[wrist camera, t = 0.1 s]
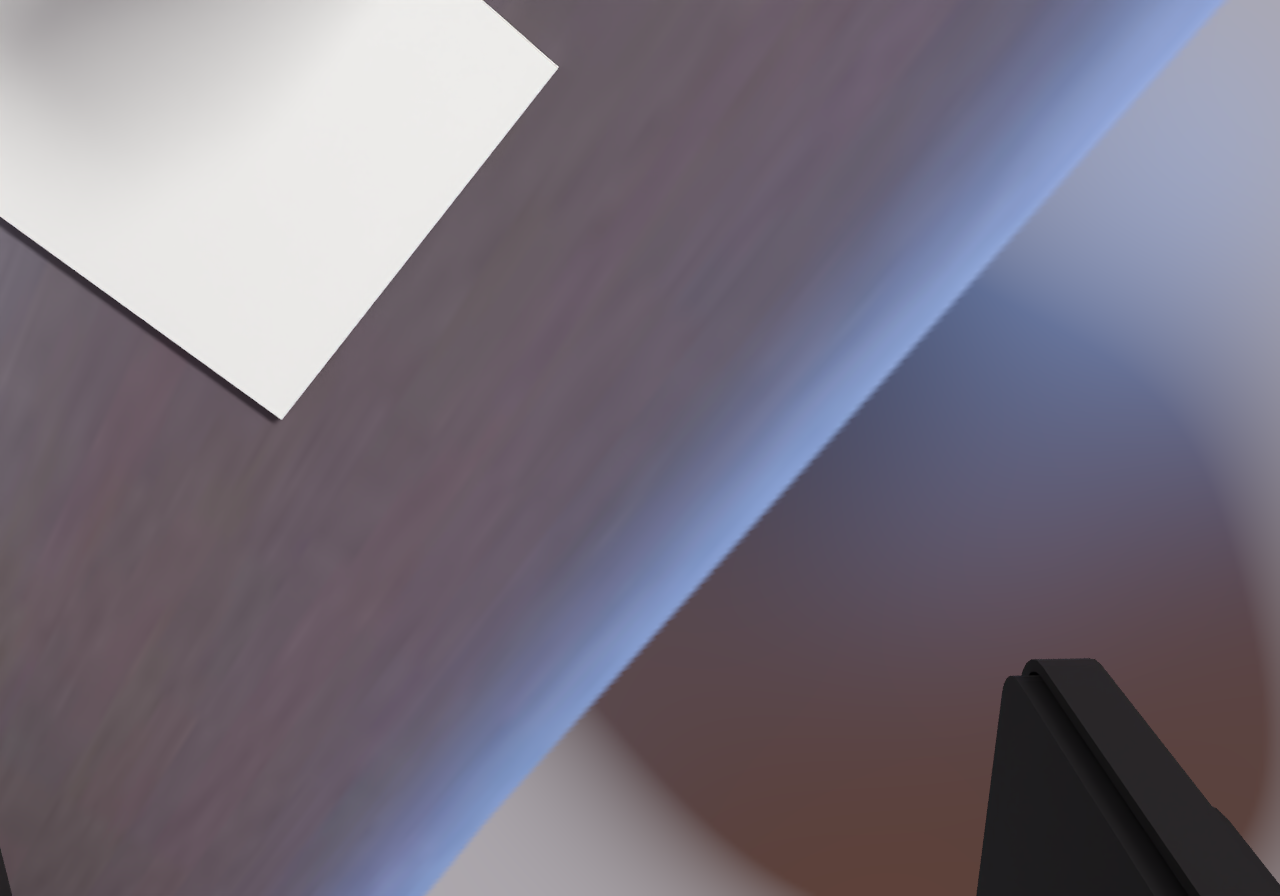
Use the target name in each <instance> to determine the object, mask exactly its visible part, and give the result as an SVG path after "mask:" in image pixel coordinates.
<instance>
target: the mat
mask: <svg viewBox="0 0 1280 896" xmlns="http://www.w3.org/2000/svg"><path fill="white" fill-rule="evenodd" d="M558 68H559V67H558V66H557V65H556V64H555V63H554V62H552V61H551V60H550V59H549V58H548V57H547V56H546V55H544V54H543V53H542V52H541V51H540V50H539V49H538V48H536V47H535V46H534V45H533V44H532V43H531V42H530V41H529V40H527V39H526V38H525V37H524V36H523V35H522V34H521V33H519V32H518V31H517V30H516V29H515V28H514V27H513V26H511V25H510V24H509V23H508V22H507V21H506V20H505V19H504V18H502V17H501V16H500V15H499V14H498V13H497V12H496V11H494V10H493V9H492V8H491V7H490V6H489V5H488V4H487V3H485V2H484V1H483V0H0V217H2V218H3V219H4V220H6V221H7V222H9V223H10V224H11V225H13V226H14V227H15V228H17V229H18V230H20V231H21V232H22V233H24V234H25V235H27V236H28V237H29V238H31V239H32V240H33V241H35V242H36V243H38V244H39V245H40V246H42V247H43V248H45V249H46V250H47V251H49V252H50V253H51V254H53V255H54V256H56V257H57V258H58V259H60V260H61V261H63V262H64V263H65V264H67V265H68V266H69V267H71V268H72V269H74V270H75V271H76V272H78V273H79V274H81V275H82V276H83V277H85V278H86V279H87V280H89V281H90V282H92V283H93V284H94V285H96V286H97V287H98V288H100V289H101V290H103V291H104V292H105V293H107V294H108V295H110V296H111V297H112V298H114V299H115V300H116V301H118V302H119V303H121V304H122V305H123V306H125V307H126V308H128V309H129V310H130V311H132V312H133V313H134V314H136V315H137V316H139V317H140V318H141V319H143V320H144V321H146V322H147V323H148V324H150V325H151V326H152V327H154V328H155V329H157V330H158V331H159V332H161V333H162V334H164V335H165V336H166V337H168V338H169V339H170V340H172V341H173V342H175V343H176V344H177V345H179V346H180V347H182V348H183V349H184V350H186V351H187V352H188V353H190V354H191V355H193V356H194V357H195V358H197V359H198V360H199V361H201V362H202V363H204V364H205V365H206V366H208V367H209V368H211V369H212V370H213V371H215V372H216V373H217V374H219V375H220V376H222V377H223V378H224V379H226V380H227V381H229V382H230V383H231V384H233V385H234V386H235V387H237V388H238V389H240V390H241V391H242V392H244V393H245V394H247V395H248V396H249V397H251V398H252V399H253V400H255V401H256V402H258V403H259V404H260V405H262V406H263V407H265V408H266V409H267V410H269V411H270V412H271V413H273V414H274V415H276V416H277V417H278V418H280V419H281V420H282V419H283V418H284V416H285V415H286V414H287V413H288V411H289V410H290V409H291V408H292V406H293V405H294V404H295V402H296V401H297V400H298V399H299V397H300V396H301V395H302V394H303V392H304V391H305V390H306V388H307V387H308V386H309V385H310V383H311V382H312V381H313V380H314V378H315V377H316V376H317V374H318V373H319V372H320V371H321V369H322V368H323V367H324V366H325V364H326V363H327V362H328V360H329V359H330V358H331V357H332V355H333V354H334V353H335V352H336V350H337V349H338V348H339V346H340V345H341V344H342V343H343V341H344V340H345V339H346V338H347V336H348V335H349V334H350V332H351V331H352V330H353V329H354V327H355V326H356V325H357V324H358V322H359V321H360V320H361V318H362V317H363V316H364V315H365V313H366V312H367V311H368V310H369V308H370V307H371V306H372V304H373V303H374V302H375V301H376V299H377V298H378V297H379V296H380V294H381V293H382V292H383V290H384V289H385V288H386V287H387V285H388V284H389V283H390V282H391V280H392V279H393V278H394V276H395V275H396V274H397V273H398V271H399V270H400V269H401V268H402V266H403V265H404V264H405V262H406V261H407V260H408V259H409V257H410V256H411V255H412V254H413V252H414V251H415V250H416V248H417V247H418V246H419V245H420V243H421V242H422V241H423V240H424V238H425V237H426V236H427V234H428V233H429V232H430V231H431V229H432V228H433V227H434V226H435V224H436V223H437V222H438V220H439V219H440V218H441V217H442V215H443V214H444V213H445V212H446V210H447V209H448V208H449V206H450V205H451V204H452V203H453V201H454V200H455V199H456V198H457V196H458V195H459V194H460V192H461V191H462V190H463V189H464V187H465V186H466V185H467V184H468V182H469V181H470V180H471V178H472V177H473V176H474V175H475V173H476V172H477V171H478V170H479V168H480V167H481V166H482V164H483V163H484V162H485V161H486V159H487V158H488V157H489V156H490V154H491V153H492V152H493V150H494V149H495V148H496V147H497V145H498V144H499V143H500V142H501V140H502V139H503V138H504V136H505V135H506V134H507V133H508V131H509V130H510V129H511V128H512V126H513V125H514V124H515V122H516V121H517V120H518V119H519V117H520V116H521V115H522V114H523V112H524V111H525V110H526V108H527V107H528V106H529V105H530V103H531V102H532V101H533V100H534V98H535V97H536V96H537V94H538V93H539V92H540V91H541V89H542V88H543V87H544V86H545V84H546V83H547V82H548V80H549V79H550V78H551V77H552V75H553V74H554V73H555V72H556V70H557V69H558Z"/></svg>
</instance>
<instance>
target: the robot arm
mask: <svg viewBox="0 0 1280 896" xmlns="http://www.w3.org/2000/svg"><path fill="white" fill-rule="evenodd" d="M0 896H12V893H11V889H10V885H9V881H8V877H7V873H6V869H5V865H4V861H3V857H2V853H1V849H0ZM977 896H1280V884H1279V883H1278V882H1277V881H1276V879H1275V878H1274V877H1273V876H1272V874H1271V873H1270V872H1269V871H1268V869H1267V868H1266V867H1265V866H1264V864H1263V863H1262V862H1261V860H1260V859H1259V858H1258V857H1257V856H1256V854H1255V853H1254V852H1253V850H1252V849H1251V848H1250V846H1249V845H1248V844H1247V843H1246V842H1245V840H1244V839H1243V838H1242V836H1241V835H1240V834H1239V833H1238V831H1237V830H1236V829H1235V828H1234V826H1233V825H1232V824H1231V822H1230V821H1229V820H1228V819H1227V818H1226V817H1225V816H1224V815H1223V814H1222V813H1221V812H1219V810H1218V809H1217V808H1214V807H1212V806H1211V804H1210V803H1209V802H1208V801H1207V799H1206V798H1205V797H1204V796H1203V794H1202V793H1201V792H1200V790H1199V789H1198V788H1197V787H1196V785H1195V784H1194V783H1193V782H1192V780H1191V779H1190V778H1189V776H1188V775H1187V774H1186V773H1185V771H1184V770H1183V769H1182V768H1181V766H1180V765H1179V764H1178V762H1177V761H1176V760H1175V758H1174V757H1173V756H1172V755H1171V753H1170V752H1169V751H1168V749H1167V748H1166V747H1165V746H1164V744H1163V743H1162V742H1161V741H1160V739H1159V738H1158V737H1157V735H1156V734H1155V733H1154V732H1153V730H1152V729H1151V728H1150V726H1149V725H1148V724H1147V723H1146V721H1145V720H1144V719H1143V718H1142V716H1141V715H1140V714H1139V712H1138V711H1137V710H1136V709H1135V707H1134V706H1133V705H1132V703H1131V702H1130V701H1129V700H1128V698H1127V697H1126V696H1125V694H1124V693H1123V692H1122V691H1121V689H1120V688H1119V687H1118V686H1117V685H1116V683H1115V682H1114V680H1113V679H1112V678H1111V677H1110V675H1109V674H1108V673H1107V671H1106V670H1105V669H1104V668H1103V666H1102V665H1101V664H1100V663H1099V662H1097V661H1096V660H1095V659H1090V658H1089V659H1088V658H1084V659H1033V660H1030V661H1029V662H1027V663H1026V665H1025V667H1024V669H1023V672H1022V676H1009V677H1008V678H1007V679H1006V681H1005V683H1004V686H1003V691H1002V698H1001V707H1000V714H999V722H998V730H997V738H996V745H995V754H994V761H993V769H992V777H991V785H990V793H989V801H988V809H987V816H986V824H985V832H984V840H983V848H982V856H981V864H980V871H979V879H978V887H977Z"/></svg>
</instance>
